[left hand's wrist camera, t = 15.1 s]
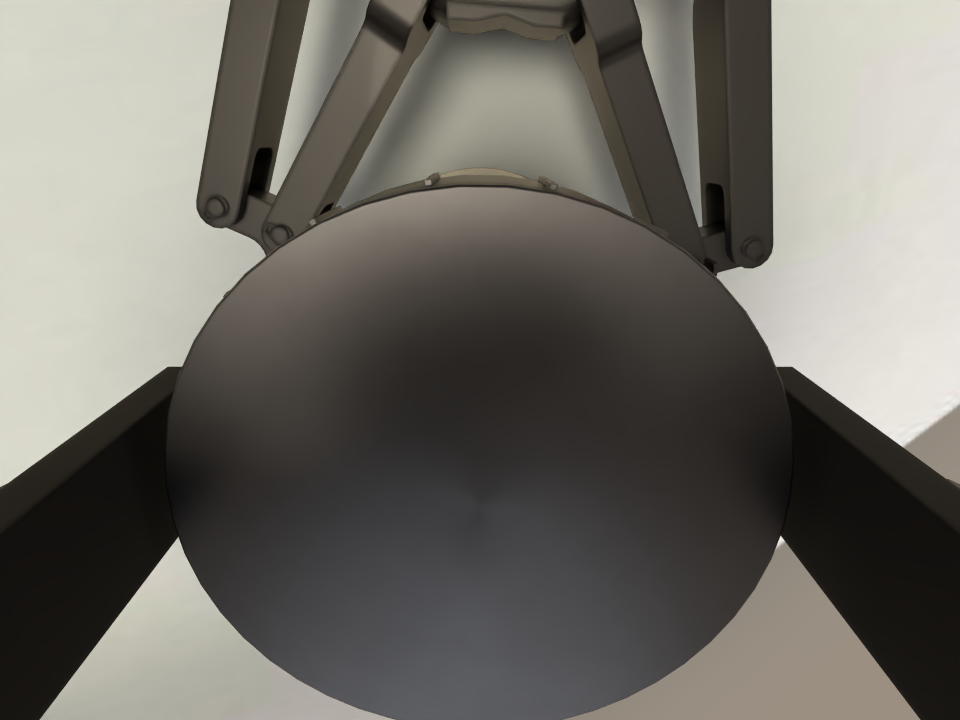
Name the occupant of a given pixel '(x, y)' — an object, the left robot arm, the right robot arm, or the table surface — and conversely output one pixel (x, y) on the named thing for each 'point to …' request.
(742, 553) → the lid
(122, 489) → the left robot arm
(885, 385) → the table surface
